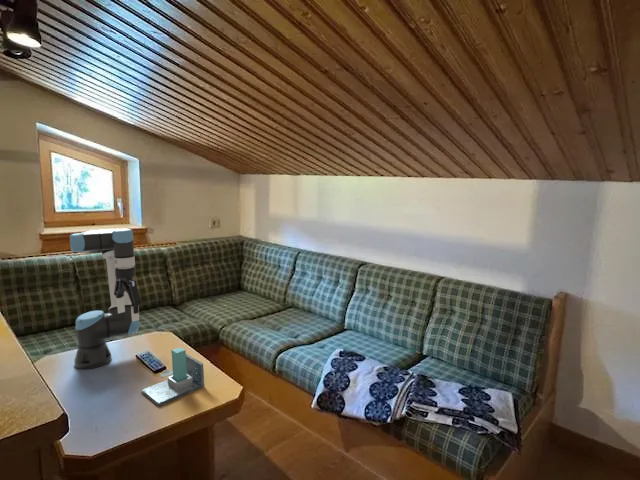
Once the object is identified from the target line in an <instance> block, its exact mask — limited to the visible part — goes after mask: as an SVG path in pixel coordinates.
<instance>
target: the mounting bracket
mask: <svg viewBox="0 0 640 480" xmlns="http://www.w3.org/2000/svg"><path fill="white" fill-rule="evenodd" d="M159 375H160V378H165V377H167V378H168V377H170V376H172V375H173V369H164V370H163V371H162V373H160V374H159Z"/></svg>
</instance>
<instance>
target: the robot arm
mask: <svg viewBox="0 0 640 480" xmlns="http://www.w3.org/2000/svg"><path fill="white" fill-rule="evenodd" d="M134 239H135V238H134V233H133V229H130V228H107V229H91V230H86V231H82V232H77V233H71V234H70V235H69V244H70V251H71V252H73V253H84V254H101V256H102V257H103V259H105V261H106V262H105V263H106V269H107V270H106V271H107V279H108V289H109V297H110V307H109V308H108V309H107V311H108V312H106V313H105V312H104V311H103V310H90V311H88V312H85V313H82V314H80V315H79V316H78V317H77V318H76V319H75V327H74V329H75V331H76V345H77V350H76V353H75V358H74V359H73V360H74V367H75V368H77V369H80V370H89V369H97V368H99V367H102V366H105V365H106V364H108V363H109V362H111V361H112V352H111V350H110V349H109V346H108V344H107V339H111V338H116V337H123V336H129V335H133V334H136V333H137V332H138V330H139V326H140V310H139V309H140V307H139V306H141V305H142V301H141V297H140V293H139V290H138V283H137V280H133V277H134V276H136V274H137V273H136V260H135V259H136V258H135V249H134V248H135V247H134V246H135V245H134V244H135V243H134Z"/></svg>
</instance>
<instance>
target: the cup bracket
mask: <svg viewBox="0 0 640 480" xmlns="http://www.w3.org/2000/svg"><path fill="white" fill-rule="evenodd" d="M186 371H187V378H186V379H184V380H181V381H179V382H176V381H175V380H173V375H171V376H167V379H166V380H163V381H161V382H159V383H155V384H153V385H150V386H148V387H146V388H143V389H141V394H142V395H144V396H145V397H146V398H147V399H149V400H150V401H151V402H152V403H154V404H155V406H157V407H162V406H165V405H166V404H169V403H171V402H173V401H175V400H176V401H177V399H180V398H182V397H184V396H187V395H189V394H191V393H194V392H196V391H198V390H200V389H203V388H205V376H204V363H203V362H201V361H199V360H197V359H196V358H194V357H193V356H190V355H189V354H187V353H186Z"/></svg>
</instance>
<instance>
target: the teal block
mask: <svg viewBox="0 0 640 480" xmlns="http://www.w3.org/2000/svg"><path fill="white" fill-rule="evenodd" d="M186 352H187V351H186V349H185V348H183V347H181V346H179V347H177V348H174V349H171V362H172V364H171V365H172V369H171V370H173V380H175V381H176V382H179V381H181V380H184V379H186V378H187V371H186V354H187V353H186Z"/></svg>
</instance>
